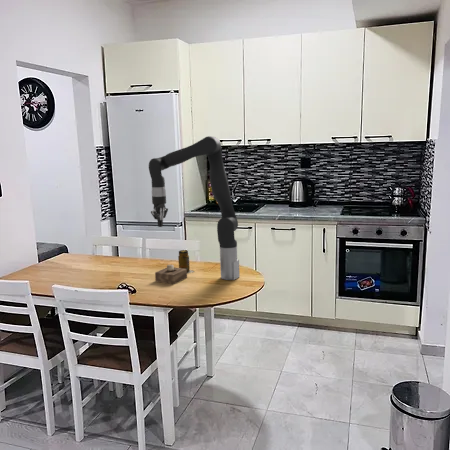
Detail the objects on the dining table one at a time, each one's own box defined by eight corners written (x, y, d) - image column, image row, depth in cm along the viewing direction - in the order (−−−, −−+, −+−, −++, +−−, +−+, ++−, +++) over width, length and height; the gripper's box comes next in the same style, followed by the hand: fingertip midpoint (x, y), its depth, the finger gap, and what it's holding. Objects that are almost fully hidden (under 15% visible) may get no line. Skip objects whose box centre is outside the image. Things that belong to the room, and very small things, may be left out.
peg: (175, 279, 231) (174, 264, 229) (171, 281, 228) (170, 266, 226) (170, 278, 232) (169, 264, 231) (166, 280, 229) (165, 265, 228)
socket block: (187, 277, 232) (186, 269, 231) (173, 284, 222) (173, 275, 221) (169, 275, 238) (168, 266, 237) (155, 281, 228) (155, 272, 227)
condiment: (186, 268, 250) (185, 248, 248) (194, 271, 243) (193, 251, 241) (175, 271, 245) (174, 251, 243) (183, 274, 239) (182, 253, 237)
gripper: (156, 196, 225) (158, 229, 228) (171, 194, 237) (173, 224, 240) (145, 196, 229) (147, 228, 232) (160, 193, 240) (162, 224, 243)
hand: (160, 226), depth 236 cm, fingers closed
